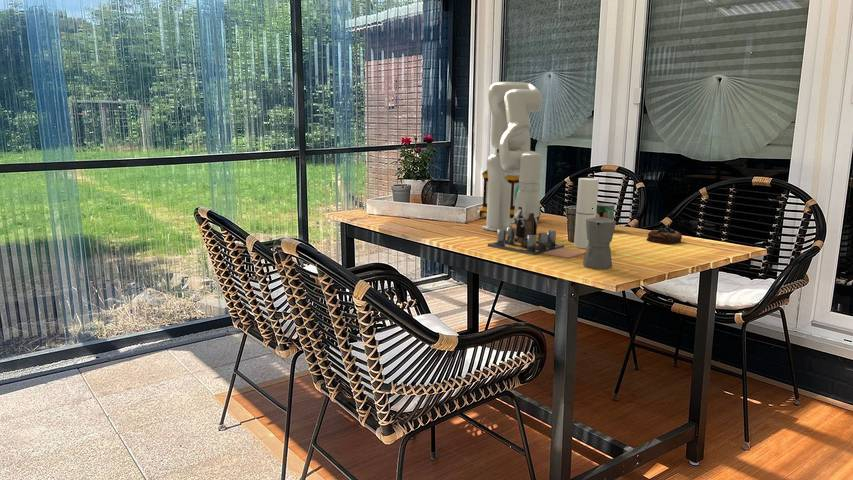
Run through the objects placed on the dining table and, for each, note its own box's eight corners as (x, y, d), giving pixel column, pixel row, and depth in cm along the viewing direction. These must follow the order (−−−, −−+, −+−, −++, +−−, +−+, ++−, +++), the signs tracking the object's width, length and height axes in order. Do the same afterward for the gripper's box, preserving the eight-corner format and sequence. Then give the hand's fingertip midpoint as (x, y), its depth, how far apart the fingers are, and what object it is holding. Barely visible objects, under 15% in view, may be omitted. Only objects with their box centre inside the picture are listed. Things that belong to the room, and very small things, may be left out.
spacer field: (518, 239, 253) (519, 223, 252) (564, 247, 240) (565, 231, 239) (487, 246, 239) (488, 229, 238) (534, 254, 226) (535, 237, 225)
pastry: (643, 241, 257) (644, 226, 256) (658, 238, 266) (659, 223, 265) (670, 246, 250) (671, 230, 249) (684, 242, 258) (685, 227, 257)
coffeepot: (610, 272, 203) (614, 215, 200) (579, 269, 207) (583, 212, 203) (615, 262, 217) (619, 208, 214) (586, 259, 221) (590, 206, 217)
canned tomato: (614, 229, 282) (616, 203, 280) (610, 232, 275) (612, 206, 273) (595, 227, 286) (597, 202, 284) (591, 230, 279) (593, 204, 277)
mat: (560, 249, 237) (561, 247, 237) (585, 253, 230) (585, 252, 230) (542, 253, 228) (542, 252, 228) (568, 258, 221) (568, 257, 221)
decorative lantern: (514, 223, 291) (517, 155, 286) (475, 218, 302) (477, 152, 296) (532, 217, 308) (536, 153, 302) (495, 213, 318) (498, 151, 313)
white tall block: (569, 245, 245) (574, 178, 240) (585, 244, 247) (590, 177, 243) (581, 249, 238) (586, 180, 233) (597, 247, 241) (602, 179, 236)
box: (518, 242, 243) (519, 210, 240) (530, 243, 243) (532, 210, 240) (520, 246, 237) (522, 213, 234) (533, 246, 237) (535, 213, 235)
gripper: (533, 184, 244) (530, 231, 248) (506, 188, 232) (503, 237, 235) (551, 186, 239) (547, 234, 243) (524, 190, 227) (521, 240, 231)
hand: (526, 235), depth 239 cm, fingers closed on box, 7 cm apart
